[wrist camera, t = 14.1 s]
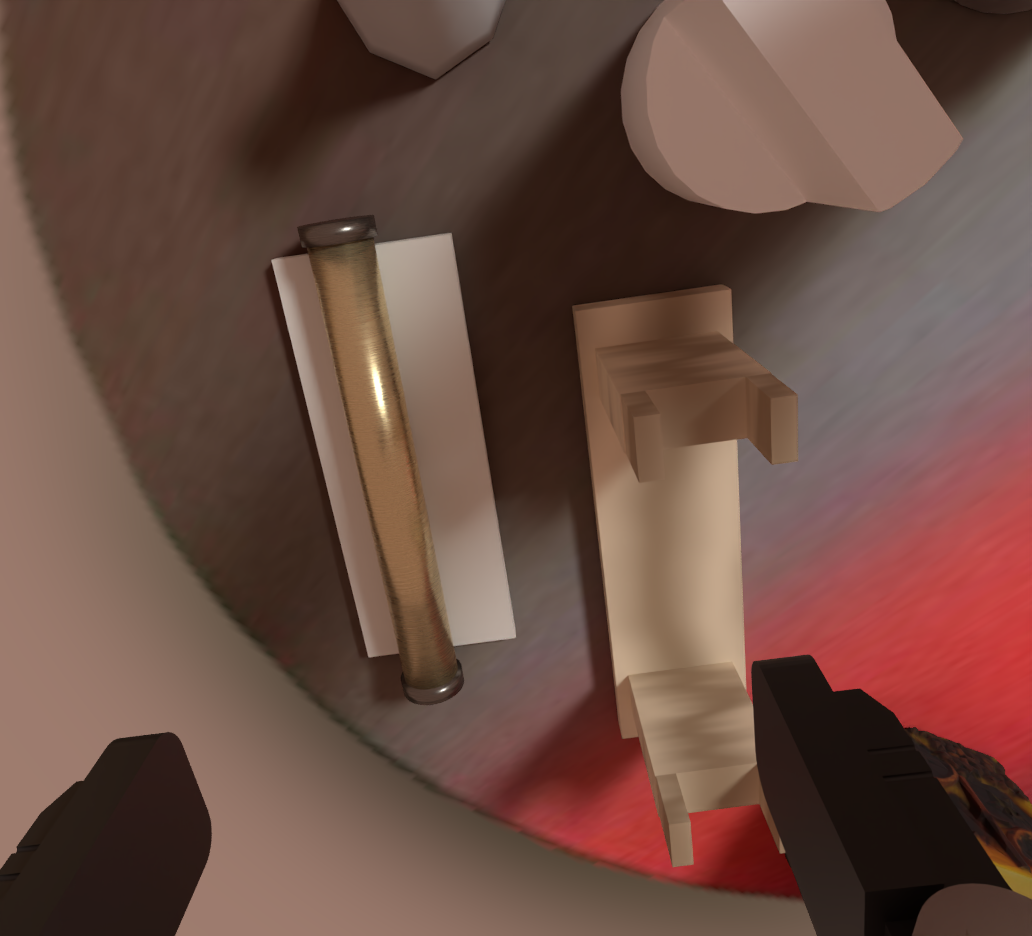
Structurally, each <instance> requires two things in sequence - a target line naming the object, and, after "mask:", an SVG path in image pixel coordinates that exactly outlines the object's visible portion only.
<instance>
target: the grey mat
mask: <svg viewBox="0 0 1032 936" xmlns="http://www.w3.org/2000/svg"><path fill="white" fill-rule="evenodd" d="M375 248H376V253H377V258H378V263H379V269H380V274H381V279H382V284H383V289H384V294H385V299H386V304H387V309H388V314H389V320H390V325H391V330H392V335H393V340H394V345H395V350H396V355H397V360H398V365H399V370H400V376H401V381H402V386H403V391H404V396H405V401H406V406H407V411H408V416H409V421H410V427H411V432H412V437H413V442H414V447H415V452H416V457H417V462H418V467H419V472H420V477H421V483H422V488H423V493H424V498H425V503H426V508H427V513H428V518H429V523H430V528H431V533H432V539H433V544H434V549H435V554H436V559H437V564H438V569H439V574H440V579H441V584H442V590H443V595H444V600H445V605H446V610H447V615H448V620H449V625H450V630H451V635H452V640H453V646H458V645H466V644H473V643H481V642H488V641H496V640H503V639H511V638H516V629H515V623H514V617H513V611H512V604H511V598H510V592H509V586H508V580H507V573H506V567H505V561H504V555H503V549H502V542H501V536H500V530H499V524H498V518H497V511H496V505H495V499H494V493H493V487H492V480H491V474H490V468H489V462H488V456H487V449H486V443H485V437H484V431H483V424H482V418H481V412H480V406H479V400H478V393H477V387H476V381H475V375H474V369H473V362H472V356H471V350H470V344H469V338H468V331H467V325H466V319H465V313H464V307H463V300H462V294H461V288H460V282H459V276H458V269H457V263H456V257H455V251H454V245H453V238H452V233H445V234H438V235H431V236H425V237H418V238H411V239H404V240H397V241H390V242H383V243H377V244H375ZM271 261H272V265H273V269H274V273H275V277H276V281H277V285H278V289H279V293H280V297H281V301H282V306H283V310H284V314H285V318H286V322H287V326H288V330H289V334H290V338H291V342H292V346H293V351H294V355H295V359H296V363H297V367H298V371H299V375H300V379H301V383H302V387H303V391H304V396H305V400H306V404H307V408H308V412H309V416H310V420H311V424H312V428H313V432H314V436H315V441H316V445H317V449H318V453H319V457H320V461H321V465H322V469H323V473H324V477H325V481H326V486H327V490H328V494H329V498H330V502H331V506H332V510H333V514H334V518H335V522H336V526H337V531H338V535H339V539H340V543H341V547H342V551H343V555H344V559H345V563H346V567H347V571H348V575H349V580H350V584H351V588H352V592H353V596H354V600H355V604H356V608H357V612H358V616H359V620H360V625H361V629H362V633H363V637H364V641H365V645H366V649H367V653H368V657H376V656H383V655H391V654H398V653H399V651H398V647H397V642H396V638H395V634H394V629H393V625H392V620H391V616H390V612H389V607H388V603H387V598H386V594H385V589H384V585H383V581H382V576H381V572H380V567H379V563H378V559H377V554H376V550H375V545H374V541H373V537H372V532H371V528H370V523H369V519H368V515H367V510H366V506H365V501H364V497H363V493H362V488H361V484H360V479H359V475H358V471H357V466H356V462H355V457H354V453H353V449H352V444H351V440H350V435H349V431H348V427H347V422H346V418H345V413H344V409H343V404H342V400H341V396H340V391H339V387H338V382H337V378H336V374H335V369H334V365H333V360H332V356H331V352H330V347H329V343H328V338H327V334H326V330H325V325H324V321H323V316H322V312H321V308H320V303H319V299H318V294H317V290H316V286H315V281H314V277H313V272H312V268H311V264H310V259H309V255H308V254H301V255H294V256H287V257H281V258H275V259H273V260H271Z"/></svg>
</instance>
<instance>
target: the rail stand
mask: <svg viewBox="0 0 1032 936" xmlns="http://www.w3.org/2000/svg"><path fill="white" fill-rule="evenodd" d="M572 309H573V318H574V327H575V336H576V345H577V354H578V363H579V372H580V381H581V390H582V399H583V408H584V417H585V426H586V435H587V444H588V453H589V462H590V471H591V480H592V489H593V498H594V507H595V516H596V525H597V534H598V543H599V552H600V561H601V570H602V579H603V588H604V597H605V606H606V615H607V624H608V633H609V642H610V651H611V660H612V669H613V678H614V687H615V696H616V705H617V714H618V722H619V727H620V731H621V736H622V739H625V738H633V737H639V741H640V745H641V749H642V753H643V756H644V760H645V764H646V768H647V772H648V776H649V780H650V784H651V788H652V792H653V796H654V800H655V804H656V808H657V812H658V816H659V817H660V819H661V823H662V827H663V831H664V835H665V839H666V843H667V847H668V851H669V855H670V859H671V863H672V866H673V867H677V866H685V865H693V850H692V837H691V823H690V819H689V815H688V813H692V812H699V811H707V810H715V809H723V808H731V807H739V806H746V805H754V804H760V807H761V809H762V812H763V814H764V816H765V819H766V821H767V824H768V826H769V829H770V831H771V833H772V836H773V838H774V841H775V843H776V846H777V848H778V850H779V853H786V852H785V850H784V847H783V844H782V842H781V839H780V837H779V834H778V831H777V829H776V826H775V823H774V821H773V818H772V816H771V813H770V810H769V808H768V805H767V802H766V799H765V796H764V793H763V790H762V786H761V782H760V777H759V773H758V767H757V761H756V753H755V735H754V715H753V704H752V702H751V700H750V698H749V696H748V694H747V692H746V671H745V644H744V617H743V590H742V564H741V537H740V510H739V483H738V456H737V439H744V438H748V439H749V440H750V441H751V442H752V443H753V444H754V446H755V447H756V448H757V449H758V450H759V451H760V452H761V453H762V454H763V456H764V457H765V458H766V459H767V460H768V461H769V462H770V463H771V464H772V465H774V464H781V463H788V462H795V461H798V395H797V394H796V393H795V392H794V391H792V390H791V389H790V388H788V387H787V386H786V385H785V384H783V383H782V382H781V381H779V380H778V379H777V378H776V377H774V376H773V375H772V374H771V372H769V371H768V370H767V369H766V368H764V367H763V366H762V365H760V364H759V363H758V362H757V361H755V360H754V359H753V358H751V357H750V356H749V355H748V354H746V353H745V352H744V351H742V350H741V349H740V348H738V347H737V346H736V345H735V344H733V323H732V296H731V289H730V288H728V287H726V286H725V285H723V284H720V285H713V286H706V287H699V288H692V289H685V290H678V291H671V292H664V293H657V294H650V295H643V296H636V297H629V298H622V299H615V300H608V301H601V302H594V303H587V304H580V305H573V306H572Z"/></svg>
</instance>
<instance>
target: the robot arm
mask: <svg viewBox="0 0 1032 936" xmlns="http://www.w3.org/2000/svg"><path fill="white" fill-rule="evenodd" d="M954 1H956V2H957V3H959V4H960V5H962V6H965V7H968V8H971V9H973V10H976V11H979V12H982V13H995V14H1010V13H1016V12H1022V11H1028V10H1032V0H954ZM751 674H752V695H753V715H754V735H755V753H756V761H757V767H758V773H759V777H760V782H761V786H762V790H763V793H764V796H765V799H766V802H767V805H768V808H769V810H770V813H771V816H772V818H773V821H774V823H775V826H776V829H777V831H778V834H779V837H780V839H781V842H782V844H783V847H784V850H785V852H786V855H787V858H788V860H789V863H790V866H791V868H792V871H793V873H794V876H795V879H796V881H797V884H798V887H799V889H800V892H801V894H802V897H803V900H804V902H805V905H806V908H807V910H808V913H809V916H810V918H811V921H812V923H813V926H814V929H815V931H816V934H817V936H1032V899H1030V898H1028V897H1026V896H1024V895H1021V894H1019V893H1017V892H1014V891H1013V890H1012V889H1011V888H1010V886H1009V885H1008V884H1007V882H1006V881H1005V880H1004V878H1003V877H1002V875H1001V874H1000V872H999V871H998V869H997V868H996V866H995V865H994V863H993V862H992V860H991V859H990V857H989V856H988V854H987V853H986V851H985V850H984V848H983V847H982V845H981V844H980V842H979V841H978V839H977V838H976V836H975V835H974V833H973V832H972V830H971V829H970V827H969V826H968V824H967V823H966V821H965V820H964V818H963V817H962V815H961V814H960V812H959V811H958V809H957V808H956V806H955V804H954V803H953V801H952V800H951V798H950V797H949V795H948V794H947V792H946V791H945V789H944V788H943V786H942V785H941V783H940V782H939V780H938V779H937V778H934V777H933V774H932V770H931V768H930V767H929V765H928V764H927V762H926V761H925V759H924V758H923V756H922V755H921V753H920V752H919V751H916V749H915V744H914V743H913V741H912V740H911V738H910V737H909V735H908V734H907V732H906V731H905V729H904V728H903V726H902V725H901V723H900V722H899V720H898V719H897V717H896V716H895V714H894V713H893V712H891V711H890V710H889V709H887V708H886V707H885V706H883V705H882V704H880V703H879V702H878V701H876V700H875V699H874V698H872V697H871V696H869V695H868V694H867V693H865V692H864V691H862V690H861V689H852V690H844V691H836V692H833V691H832V689H831V687H830V685H829V684H828V682H827V680H826V679H825V677H824V675H823V673H822V672H821V670H820V668H819V666H818V665H817V663H816V661H815V660H814V658H813V657H812V656H810V655H801V656H793V657H785V658H777V659H769V660H761V661H754V662H753V664H752V671H751ZM211 834H212V833H211V821H210V816H209V813H208V810H207V807H206V805H205V802H204V799H203V797H202V794H201V792H200V789H199V786H198V784H197V781H196V779H195V776H194V774H193V771H192V768H191V766H190V763H189V761H188V758H187V755H186V753H185V750H184V748H183V745H182V743H181V741H180V740H179V738H178V737H177V736H176V735H175V734H173V733H170V732H167V733H159V734H151V735H143V736H135V737H127V738H119V739H116V740H114V741H112V742H111V743H110V744H109V745H108V746H107V748H106V749H105V751H104V752H103V753H102V755H101V756H100V758H99V759H98V761H97V762H96V764H95V765H94V767H93V768H92V770H91V771H90V773H89V774H88V775H87V777H86V778H85V780H84V781H79V782H76V783H75V784H73V785H72V786H71V787H70V788H69V789H68V790H67V791H65V792H64V793H63V794H62V795H61V796H60V797H59V798H58V799H56V800H55V801H54V802H53V803H52V804H51V805H49V806H48V807H47V808H46V809H45V810H44V811H43V812H41V814H40V815H39V816H38V818H37V819H36V821H35V822H34V823H33V825H32V826H31V828H30V829H29V830H28V832H27V833H26V835H25V836H24V837H23V839H22V840H21V842H20V843H19V844H18V846H17V852H16V853H14V854H11V856H10V857H9V858H8V860H7V861H6V863H5V864H4V865H3V867H2V868H1V869H0V936H175V934H176V932H177V930H178V927H179V925H180V923H181V920H182V918H183V916H184V914H185V911H186V909H187V907H188V904H189V902H190V900H191V898H192V895H193V893H194V891H195V888H196V886H197V884H198V881H199V879H200V877H201V875H202V872H203V870H204V868H205V865H206V863H207V860H208V856H209V853H210V847H211V836H212V835H211Z"/></svg>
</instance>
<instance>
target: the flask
mask: <svg viewBox="0 0 1032 936" xmlns="http://www.w3.org/2000/svg"><path fill="white" fill-rule="evenodd" d="M337 1H338V3H339V5H340V6H341V8H342V9H343V11H344V13H345V14H346V16H347V17H348V19H349V20H350V22H351V24H352V25H353V27H354V28H355V30H356V32H357V33H358V35H359V36H360V38H361V40H362V41H363V43H364V44H365V46H366V47H367V49H368V51H369V52H370V53H372V54H375V55H377V56H380V57H382V58H384V59H387V60H389V61H392V62H394V63H396V64H399V65H401V66H404V67H406V68H409V69H411V70H413V71H416V72H418V73H421V74H423V75H426V76H428V77H430V78H433V79H435V80H436V79H437V78H439V77H440V76H442V75H443V74H444V73H446V72H447V71H448V70H450V69H451V68H453V67H454V66H455V65H457V64H458V63H460V62H461V61H462V60H464V59H465V58H467V57H468V56H469V55H471V54H472V53H473V52H475V51H476V50H478V49H479V48H480V47H482V46H483V45H485V44H486V43H487V42H489V41H490V40H492V39H493V37H494V34H495V31H496V28H497V25H498V22H499V19H500V16H501V13H502V10H503V7H504V3H505V0H337Z"/></svg>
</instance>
